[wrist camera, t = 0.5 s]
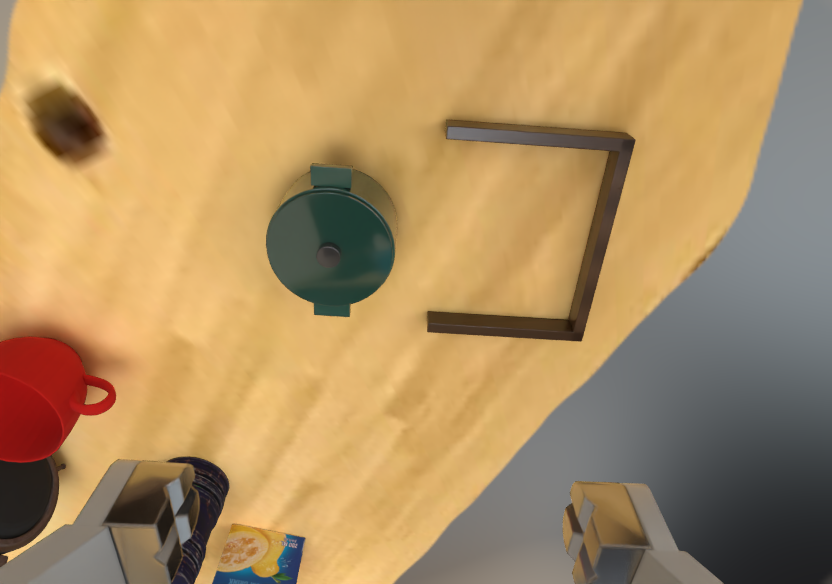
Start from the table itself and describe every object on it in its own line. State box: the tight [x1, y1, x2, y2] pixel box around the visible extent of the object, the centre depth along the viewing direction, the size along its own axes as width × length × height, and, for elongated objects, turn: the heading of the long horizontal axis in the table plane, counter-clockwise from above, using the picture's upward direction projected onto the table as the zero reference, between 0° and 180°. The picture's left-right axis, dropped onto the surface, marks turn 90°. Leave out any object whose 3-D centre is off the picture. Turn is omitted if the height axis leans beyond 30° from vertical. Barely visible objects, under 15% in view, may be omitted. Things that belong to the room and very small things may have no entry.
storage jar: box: [168, 457, 229, 584], centre depth 70 cm, size 10×10×15 cm
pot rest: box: [427, 120, 635, 341], centre depth 56 cm, size 22×17×2 cm
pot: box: [266, 163, 397, 317], centre depth 53 cm, size 15×12×8 cm
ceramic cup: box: [0, 337, 116, 463], centre depth 61 cm, size 13×17×10 cm
